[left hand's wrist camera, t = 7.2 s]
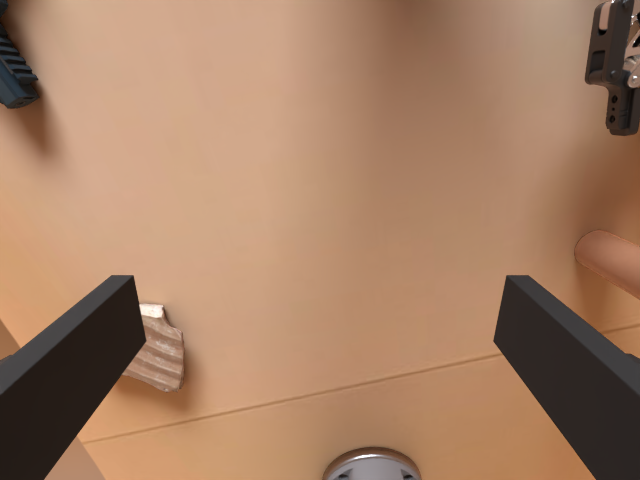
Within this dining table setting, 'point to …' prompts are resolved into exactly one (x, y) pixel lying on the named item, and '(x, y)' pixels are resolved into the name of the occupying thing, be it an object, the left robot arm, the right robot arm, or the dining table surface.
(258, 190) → the dining table surface
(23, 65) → the handgun
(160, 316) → the stone
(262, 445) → the dining table surface
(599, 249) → the bottle
